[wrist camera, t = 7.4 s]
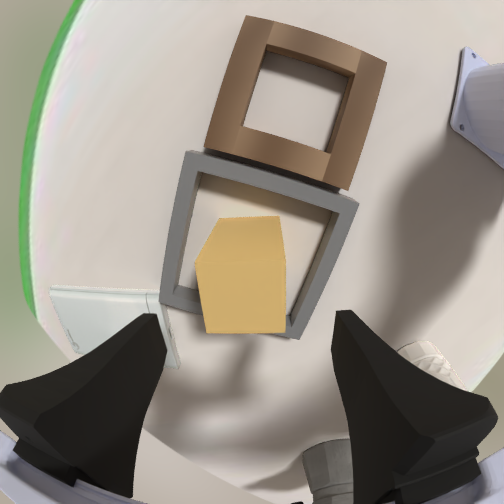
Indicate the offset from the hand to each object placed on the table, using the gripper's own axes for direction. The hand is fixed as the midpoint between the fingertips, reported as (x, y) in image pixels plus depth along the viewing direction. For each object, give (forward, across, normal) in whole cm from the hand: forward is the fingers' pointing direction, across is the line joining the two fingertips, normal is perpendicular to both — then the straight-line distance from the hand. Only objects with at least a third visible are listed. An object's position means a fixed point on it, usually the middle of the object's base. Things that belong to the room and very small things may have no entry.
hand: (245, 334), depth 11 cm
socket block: (+9, -3, -10) cm, 14 cm away
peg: (+9, 0, 0) cm, 9 cm away
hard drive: (+10, +14, +7) cm, 19 cm away
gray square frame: (+9, 0, 0) cm, 9 cm away
